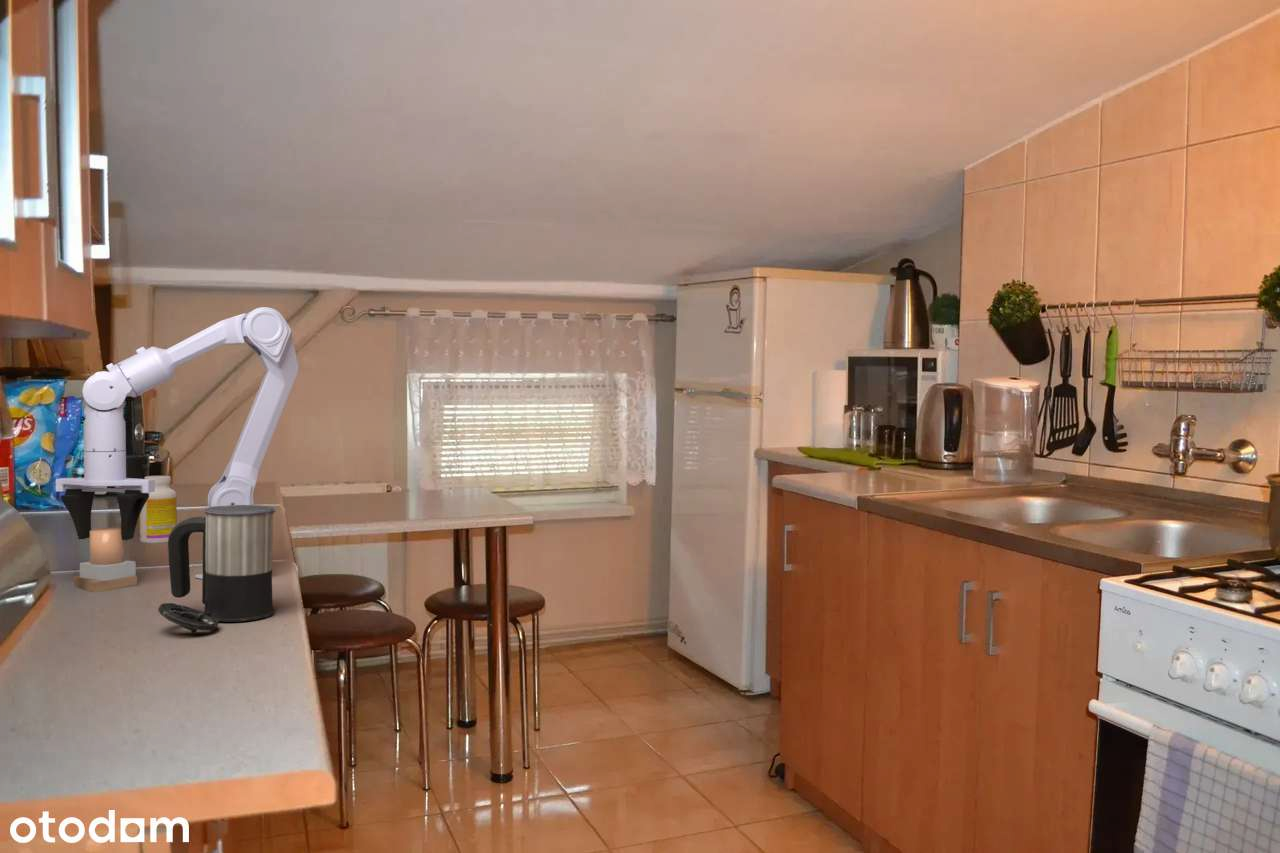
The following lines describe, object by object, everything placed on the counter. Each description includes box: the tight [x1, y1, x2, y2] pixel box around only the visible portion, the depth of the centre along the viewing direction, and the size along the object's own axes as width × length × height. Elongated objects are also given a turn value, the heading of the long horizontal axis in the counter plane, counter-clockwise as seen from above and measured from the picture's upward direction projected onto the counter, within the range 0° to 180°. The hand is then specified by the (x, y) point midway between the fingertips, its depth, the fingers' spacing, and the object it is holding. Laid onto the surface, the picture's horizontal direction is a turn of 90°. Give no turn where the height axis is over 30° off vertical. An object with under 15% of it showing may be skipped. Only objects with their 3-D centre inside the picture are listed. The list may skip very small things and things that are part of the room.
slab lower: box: [73, 575, 138, 594], centre depth 159 cm, size 6×6×2 cm
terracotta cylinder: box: [89, 527, 124, 565], centre depth 158 cm, size 5×5×5 cm
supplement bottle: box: [138, 475, 178, 544], centre depth 201 cm, size 7×7×13 cm
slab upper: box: [79, 559, 137, 581], centre depth 158 cm, size 6×6×2 cm
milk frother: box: [157, 504, 276, 634], centre depth 136 cm, size 14×16×15 cm
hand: (106, 538), depth 158 cm, fingers open, 6 cm apart
